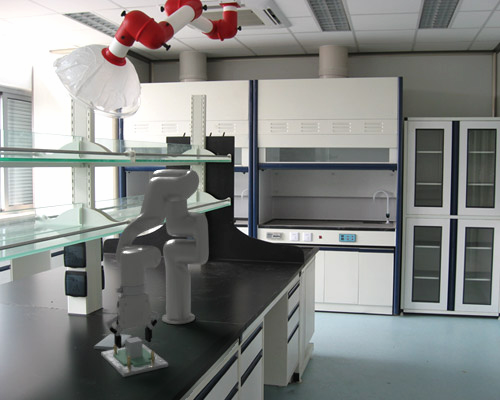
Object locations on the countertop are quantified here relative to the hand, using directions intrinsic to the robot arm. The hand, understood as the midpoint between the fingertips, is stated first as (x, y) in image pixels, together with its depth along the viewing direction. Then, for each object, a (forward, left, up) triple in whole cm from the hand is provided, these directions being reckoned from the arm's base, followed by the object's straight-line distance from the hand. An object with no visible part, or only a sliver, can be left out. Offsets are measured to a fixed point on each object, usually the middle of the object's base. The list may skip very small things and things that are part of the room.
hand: (133, 344), depth 162 cm
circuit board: (0, 0, -4) cm, 4 cm away
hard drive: (-19, 0, -6) cm, 19 cm away
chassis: (0, 0, -5) cm, 5 cm away
